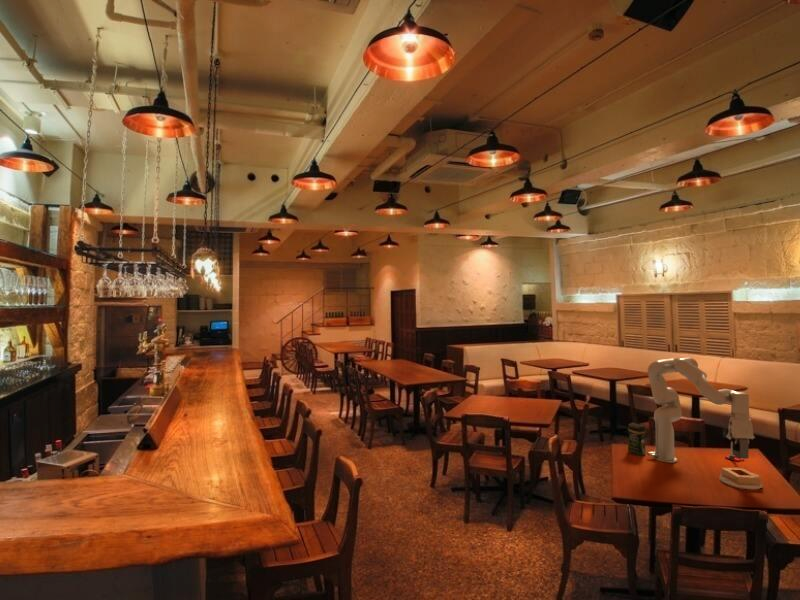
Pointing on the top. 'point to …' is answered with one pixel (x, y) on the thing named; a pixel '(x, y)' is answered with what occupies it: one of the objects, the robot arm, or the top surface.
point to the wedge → (742, 449)
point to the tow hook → (731, 456)
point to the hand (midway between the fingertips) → (740, 450)
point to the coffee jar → (636, 439)
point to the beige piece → (740, 478)
